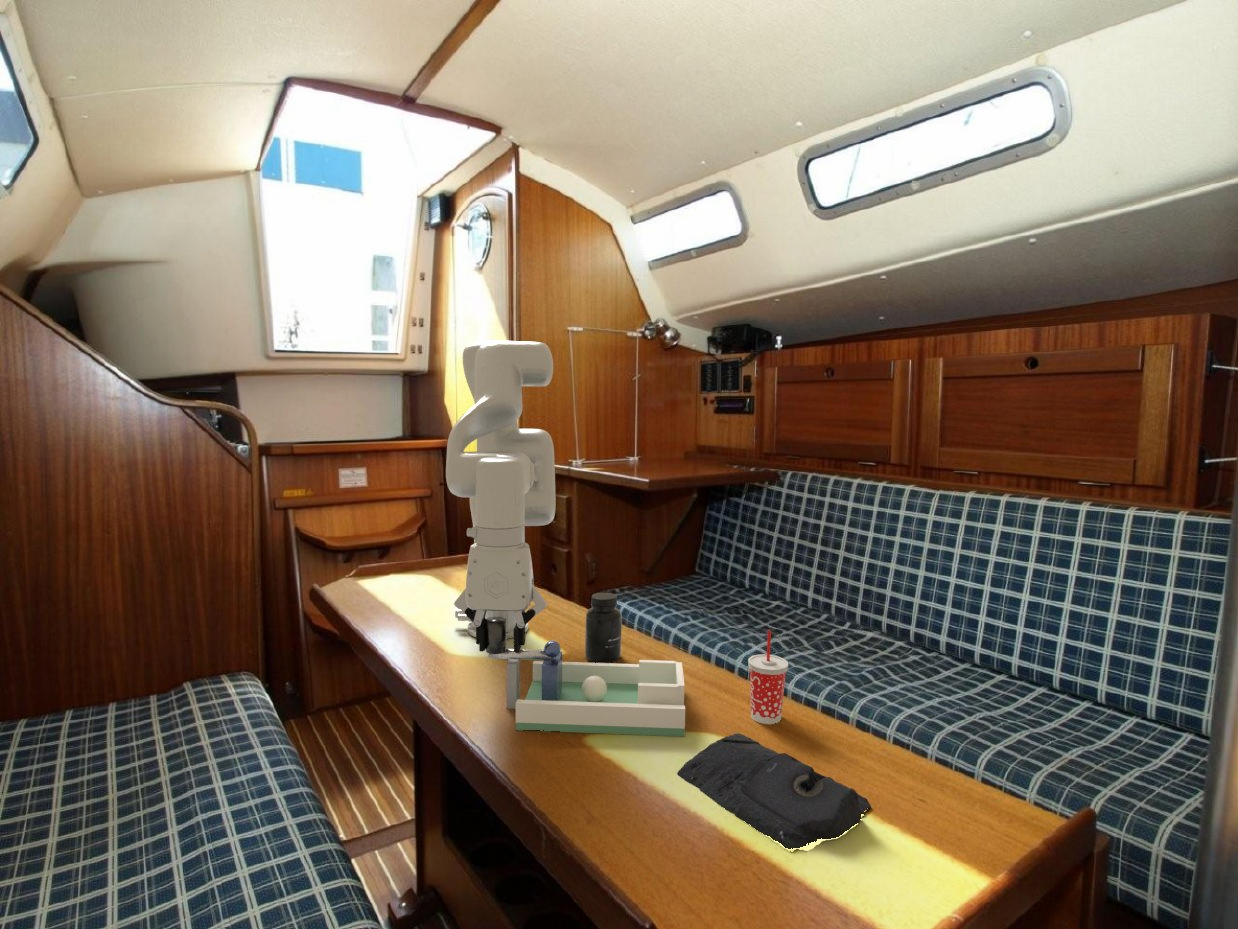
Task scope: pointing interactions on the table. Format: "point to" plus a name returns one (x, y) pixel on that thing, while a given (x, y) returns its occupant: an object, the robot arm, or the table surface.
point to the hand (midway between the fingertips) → (500, 647)
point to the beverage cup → (767, 686)
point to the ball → (594, 688)
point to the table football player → (527, 656)
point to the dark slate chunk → (773, 791)
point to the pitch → (604, 699)
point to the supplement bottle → (603, 629)
